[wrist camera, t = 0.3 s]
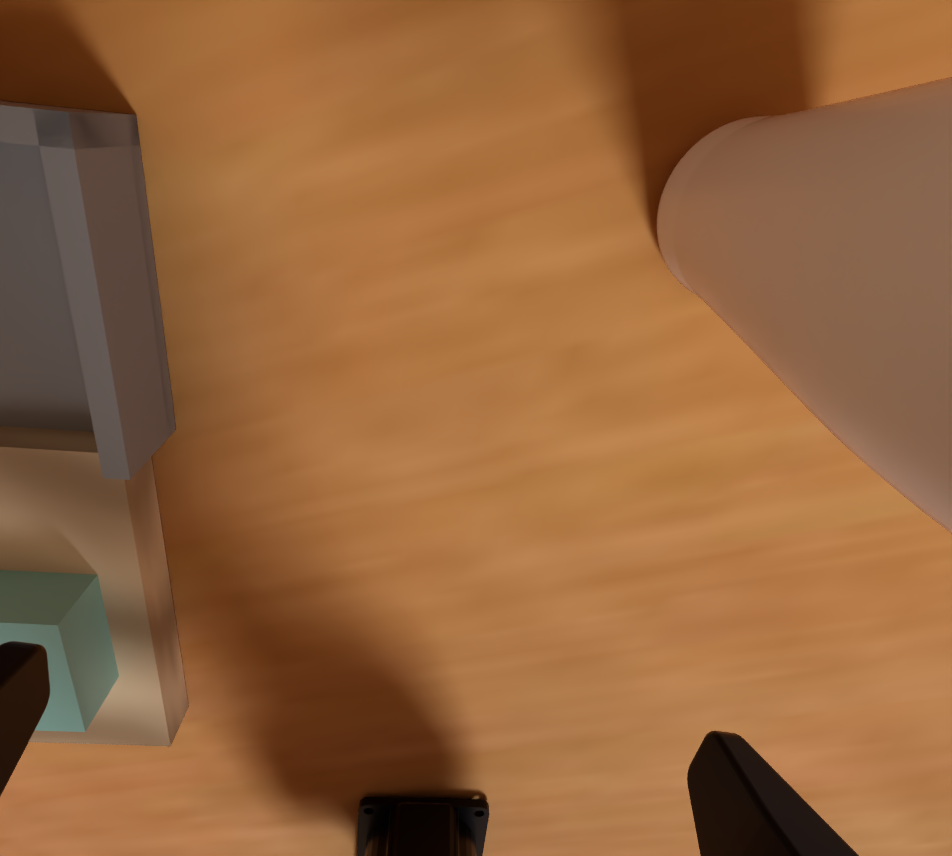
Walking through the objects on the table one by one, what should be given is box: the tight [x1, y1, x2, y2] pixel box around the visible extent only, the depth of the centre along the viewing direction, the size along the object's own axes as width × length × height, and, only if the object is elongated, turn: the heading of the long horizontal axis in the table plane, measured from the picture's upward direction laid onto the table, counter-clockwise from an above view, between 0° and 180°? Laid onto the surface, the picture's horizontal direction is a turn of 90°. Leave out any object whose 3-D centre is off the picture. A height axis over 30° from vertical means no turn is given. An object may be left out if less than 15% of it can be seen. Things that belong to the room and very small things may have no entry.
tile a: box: [0, 570, 119, 732], centre depth 22 cm, size 5×5×2 cm
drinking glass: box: [657, 77, 952, 534], centre depth 13 cm, size 7×7×15 cm
